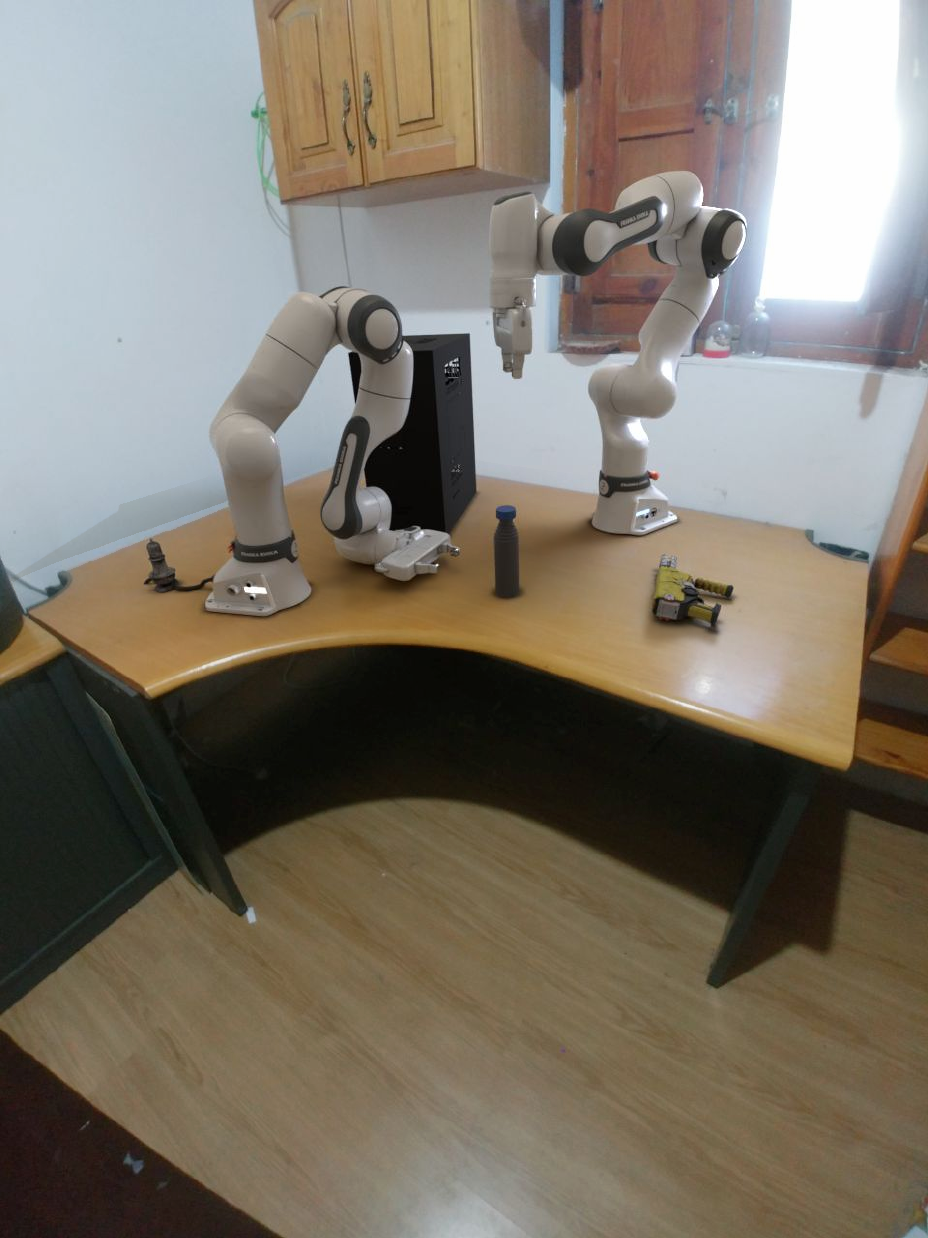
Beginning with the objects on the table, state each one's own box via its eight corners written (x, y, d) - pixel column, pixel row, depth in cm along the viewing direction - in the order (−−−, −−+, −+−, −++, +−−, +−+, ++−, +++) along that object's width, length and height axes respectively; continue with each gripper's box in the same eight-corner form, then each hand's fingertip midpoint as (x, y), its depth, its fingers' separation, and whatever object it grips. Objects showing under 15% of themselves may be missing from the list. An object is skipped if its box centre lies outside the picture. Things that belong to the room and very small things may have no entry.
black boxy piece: (446, 538, 156) (432, 350, 134) (372, 535, 161) (348, 352, 138) (476, 491, 188) (469, 333, 165) (414, 490, 192) (399, 335, 170)
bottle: (524, 591, 129) (524, 509, 120) (508, 600, 126) (507, 516, 117) (506, 584, 132) (504, 504, 123) (490, 593, 129) (487, 511, 120)
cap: (520, 516, 121) (520, 507, 120) (506, 522, 118) (506, 513, 117) (505, 512, 123) (504, 503, 122) (491, 517, 121) (491, 509, 120)
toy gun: (733, 563, 128) (661, 551, 132) (740, 613, 108) (654, 597, 112) (728, 583, 130) (657, 571, 134) (732, 635, 110) (649, 619, 114)
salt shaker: (170, 592, 137) (153, 544, 131) (147, 591, 138) (130, 543, 132) (185, 581, 142) (170, 533, 136) (163, 580, 143) (147, 532, 137)
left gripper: (368, 555, 130) (422, 565, 124) (418, 523, 145) (469, 531, 139) (371, 581, 133) (425, 593, 127) (420, 547, 148) (470, 556, 142)
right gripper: (542, 297, 105) (539, 381, 112) (518, 295, 123) (517, 368, 130) (506, 298, 104) (506, 383, 111) (487, 296, 122) (488, 369, 129)
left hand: (448, 560), depth 133 cm, fingers open, 8 cm apart
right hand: (512, 375), depth 121 cm, fingers open, 8 cm apart
